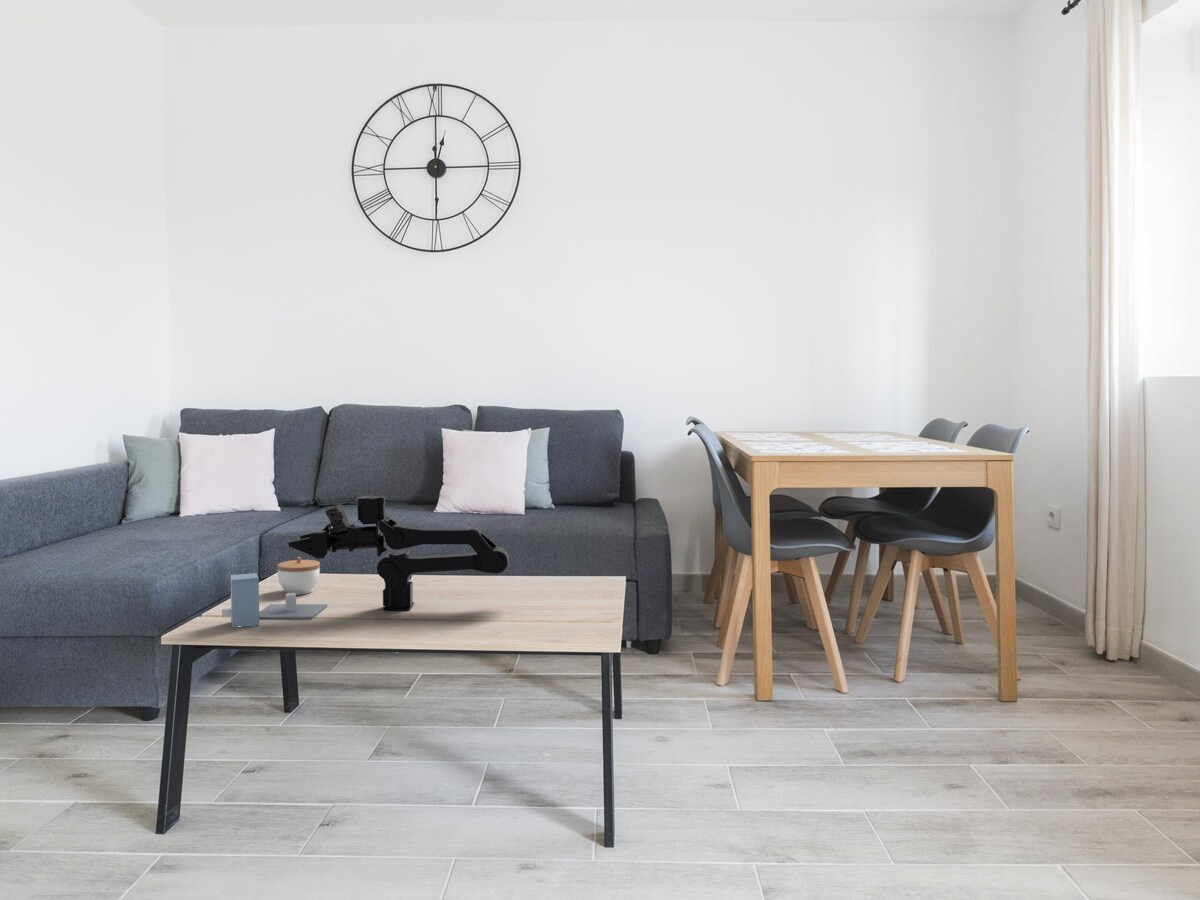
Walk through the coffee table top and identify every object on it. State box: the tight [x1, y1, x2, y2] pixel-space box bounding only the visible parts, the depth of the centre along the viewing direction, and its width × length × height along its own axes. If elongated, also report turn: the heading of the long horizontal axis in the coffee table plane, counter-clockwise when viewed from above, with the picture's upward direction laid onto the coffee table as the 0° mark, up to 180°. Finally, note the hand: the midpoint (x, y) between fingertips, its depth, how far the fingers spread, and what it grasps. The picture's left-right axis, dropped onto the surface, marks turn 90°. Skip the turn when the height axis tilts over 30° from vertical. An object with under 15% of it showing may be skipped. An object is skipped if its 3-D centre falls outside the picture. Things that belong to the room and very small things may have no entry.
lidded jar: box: [276, 556, 321, 596], centre depth 216 cm, size 11×11×9 cm
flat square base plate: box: [259, 592, 328, 620], centre depth 195 cm, size 14×12×4 cm
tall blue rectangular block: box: [221, 572, 260, 628], centre depth 184 cm, size 8×6×11 cm
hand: (294, 541), depth 198 cm, fingers open, 9 cm apart
